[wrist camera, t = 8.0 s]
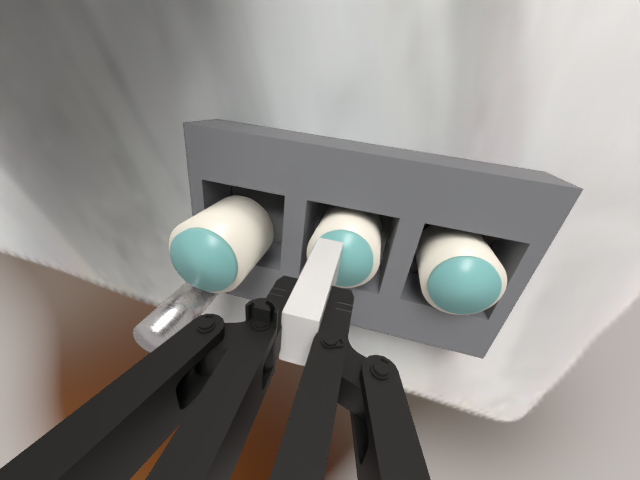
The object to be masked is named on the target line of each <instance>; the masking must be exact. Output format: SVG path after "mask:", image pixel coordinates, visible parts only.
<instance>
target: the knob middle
mask: <svg viewBox="0 0 640 480" xmlns="http://www.w3.org/2000/svg"><path fill="white" fill-rule="evenodd" d="M381 234H382V226H381V221H380V219H379V217H378V215H377V214H375V213H370V212H365V211H360V210H355V209H350V208H345V207H339V206H334V205H333V206H331V207H330V208H329V209H328V210H327V211H326V213H325V214H324V216H323V218H322V220H321V221H320V223H319V225H318V227H317V228H316V230H315V232H314V234H313V235H312V237H311V239H310V241H309V243H308V246H307V260H308V258H309V256H310V254H311V252H312V250H313V248H314V246H315V244H316V242H317V240H318V238H324V239H329V240H334V241H339V242H344V243H343V249H342V254H341V260H340V266H339V271H338V277H337V282H336V285H335V286H336V287H340V288H353V287H358V286H361V285H363V284H365V283H367V282H368V281H369V280H371V279H372V278H373V276H374V275H375V274H376V272H377V270H378V268H379V264H380V251H381Z"/></svg>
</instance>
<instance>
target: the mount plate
mask: <svg viewBox="0 0 640 480" xmlns="http://www.w3.org/2000/svg"><path fill="white" fill-rule="evenodd" d="M183 127H184V137H185V146H186V156H187V166H188V176H189V185H190V195H191V205H192V215H193V216H195V215H196V214H198V213H200V212H201V211H203V210H205V209H207V208H208V207H210V206H212V205H213V204H215V203H217V202H219V201H220V200H222V199H224V198H226V197H229V196H232V187H231V185H232V186H237V187H242V188H248V189H253V190H258V191H263V192H268V193H273V194H278V195H283V196H285V202H284V217H283V233H282V244H280V243H276V242H272V245H271V246H270V248H269V249H268V250H267V252H266V253H265V254H264V255H263V256H262V258H261V259H260V260H259V261H258V262H257V264H256V265H255V266H254V267H253V269H252V270H251V271H250V272H249V273H248V275H247V276H246V277H245V278H244V280H243V281H242V282H241V283H240V284H239V285H238V287H236V288H235V289H234V290H232V291H229V292H226V293H228V294H231V295H235V296H239V297H243V298H247V299H251V300H254V299H257V298H266V297H267V295H268V294H269V292H270V290H271V289H272V287H273V285H274V284H275V282H276V280H278V279H279V278H281V277H282V276H289V277H293V278H297V279H299V277H300V275H301V272H302V270H303V268H304V266H305V264H306V262H307V246H308V243H309V241H310V239H311V237H312V235H313V234H314V230H315V222H316V214H317V206H318V202H319V203H324V204H329V205H334V206H339V207H345V208H350V209H355V210H360V211H365V212H370V213H375V214H380V215H385V216H391V217H393V220H392V224H391V227H390V231H389V235H388V239H387V242H386V246H385V250H384V253H383V257H382V261H381V265H379V268H378V270H377V272H376V274H375V275H374V276H373V278H372V279H371V280H369V281H368V282H367V283H365V284H363V285H361V286H358V287H353V288H345V289H349V290H352V293H353V295H354V303H353V309H352V315H351V321H350V325H353V326H357V327H361V328H365V329H369V330H373V331H377V332H381V333H385V334H388V335H392V336H396V337H400V338H404V339H408V340H412V341H416V342H420V343H424V344H428V345H432V346H436V347H439V348H443V349H447V350H451V351H455V352H459V353H463V354H467V355H471V356H475V357H479V358H484V356H485V355H486V353H487V351H488V350H489V348H490V346H491V345H492V343H493V341H494V339H495V338H496V336H497V334H498V333H499V331H500V329H501V328H502V326H503V324H504V323H505V321H506V319H507V317H508V316H509V314H510V312H511V311H512V309H513V307H514V306H515V304H516V302H517V301H518V299H519V297H520V295H521V294H522V292H523V290H524V289H525V287H526V285H527V284H528V282H529V280H530V278H531V277H532V275H533V273H534V272H535V270H536V268H537V267H538V265H539V263H540V262H541V260H542V258H543V256H544V255H545V253H546V251H547V250H548V248H549V246H550V245H551V243H552V241H553V240H554V238H555V236H556V234H557V233H558V231H559V229H560V228H561V226H562V224H563V223H564V221H565V219H566V217H567V216H568V214H569V212H570V211H571V209H572V207H573V206H574V204H575V202H576V201H577V199H578V197H579V195H580V194H581V192H582V190H583V189H582V188H580V187H577V186H575V185H573V184H571V183H568V182H566V181H564V180H562V179H560V178H557V177H555V176H553V175H551V174H548V173H546V172H542V171H536V170H530V169H523V168H517V167H511V166H505V165H499V164H492V163H486V162H480V161H474V160H468V159H461V158H455V157H449V156H443V155H437V154H430V153H424V152H418V151H412V150H406V149H399V148H393V147H387V146H381V145H375V144H368V143H362V142H356V141H350V140H344V139H337V138H331V137H325V136H319V135H313V134H306V133H300V132H294V131H288V130H282V129H275V128H269V127H263V126H257V125H251V124H244V123H238V122H232V121H226V120H220V119H214V120H204V121H194V122H184V123H183ZM425 223H426V224H431V225H436V226H442V227H447V228H452V229H457V230H462V231H467V232H472V233H477V234H482V235H488V236H493V237H496V238H495V240H494V243H493V245H492V247H491V250H492V251H493V253H494V254H495V256H496V257H497V259H498V260H499V261H500V263H501V264H502V266H503V267H504V269H505V271H506V275H507V286H506V290H505V292H504V294H503V295H502V297H501V298H500V299H499V300H498V301H497V302H496V303H495V304H494V305H493V306H491V307H490V308H488V309H486V310H484V311H481V312H478V313H475V314H469V315H454V314H449V313H445V312H442V311H440V310H438V309H436V308H435V307H433V306H432V305H431V304H430V303H428V301H427V300H426V299H425V297H424V296H423V293H422V290H421V285H420V279H419V274H416V273H411V272H409V270H410V267H411V264H412V261H413V258H414V255H415V252H416V248H417V245H418V242H419V239H420V236H421V233H422V230H423V227H424V224H425Z"/></svg>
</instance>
